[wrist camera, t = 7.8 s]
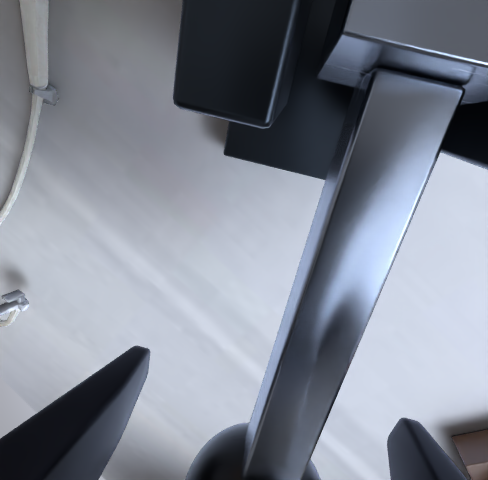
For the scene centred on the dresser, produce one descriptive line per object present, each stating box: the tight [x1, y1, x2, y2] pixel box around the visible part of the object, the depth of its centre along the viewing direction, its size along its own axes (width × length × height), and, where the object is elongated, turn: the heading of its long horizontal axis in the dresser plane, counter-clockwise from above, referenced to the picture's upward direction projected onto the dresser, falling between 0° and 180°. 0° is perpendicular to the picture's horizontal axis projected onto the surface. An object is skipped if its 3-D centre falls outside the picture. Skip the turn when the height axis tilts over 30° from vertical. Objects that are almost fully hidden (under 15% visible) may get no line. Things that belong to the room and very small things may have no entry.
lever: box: [185, 0, 488, 480], centre depth 5 cm, size 13×3×3 cm, turn 168°
